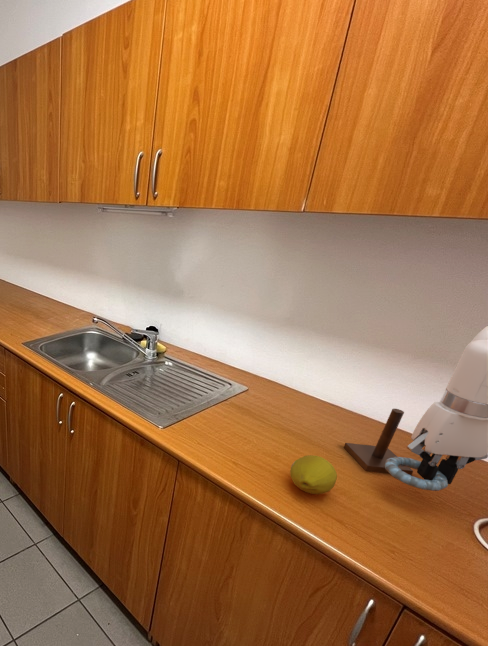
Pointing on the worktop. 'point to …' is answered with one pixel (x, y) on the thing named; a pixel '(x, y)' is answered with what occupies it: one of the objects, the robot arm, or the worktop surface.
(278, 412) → the worktop surface
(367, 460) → the peg stand
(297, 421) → the worktop surface
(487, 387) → the robot arm
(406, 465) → the ring
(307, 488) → the lemon
